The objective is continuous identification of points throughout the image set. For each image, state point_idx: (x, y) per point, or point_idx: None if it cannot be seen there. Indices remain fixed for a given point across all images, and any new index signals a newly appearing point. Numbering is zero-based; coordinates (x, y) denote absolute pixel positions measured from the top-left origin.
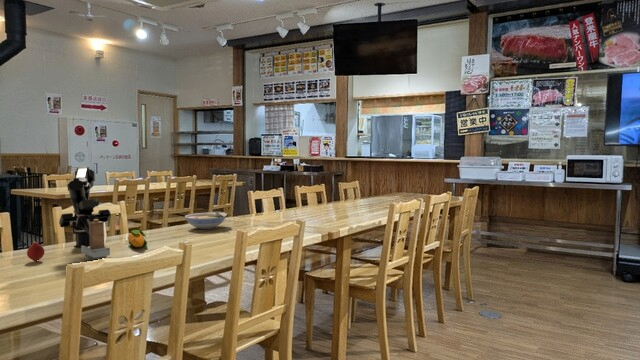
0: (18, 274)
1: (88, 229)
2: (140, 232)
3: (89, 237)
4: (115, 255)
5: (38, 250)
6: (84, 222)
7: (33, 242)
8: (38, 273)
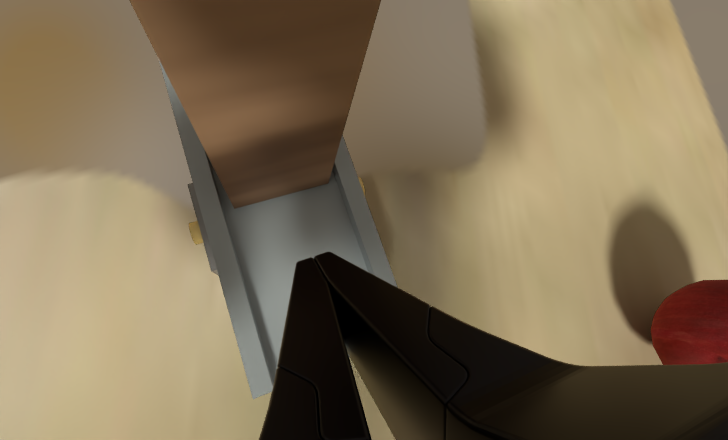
0: (646, 51)
1: (373, 277)
2: None
3: (343, 127)
4: (111, 267)
5: (723, 287)
6: (526, 370)
7: None
8: (565, 18)
